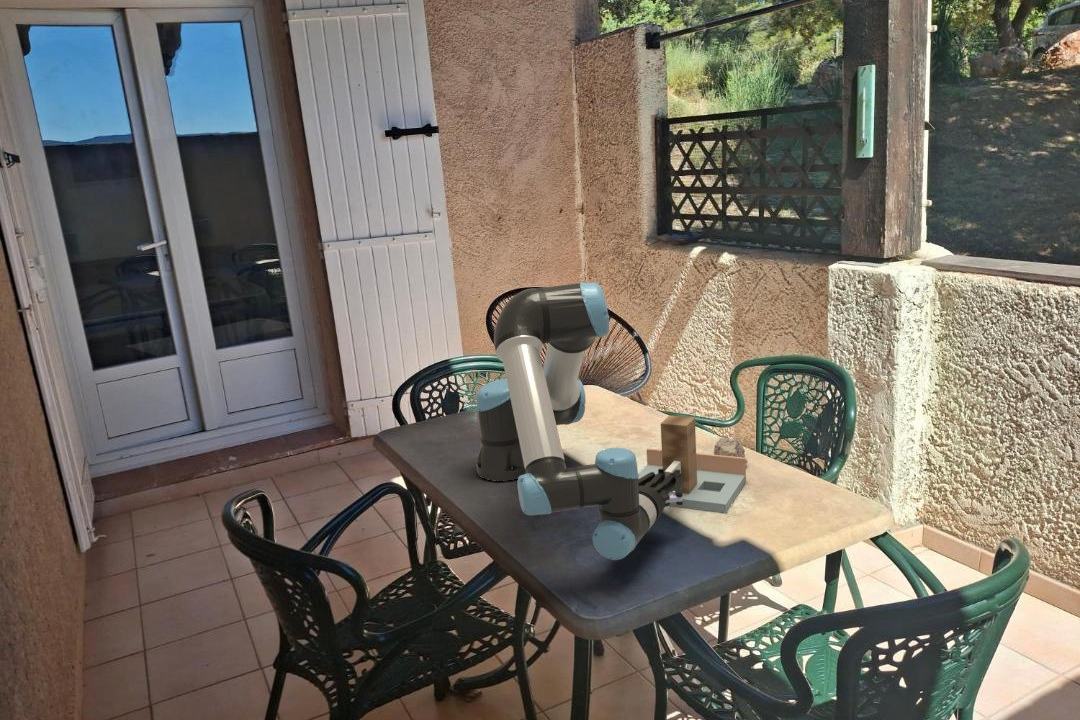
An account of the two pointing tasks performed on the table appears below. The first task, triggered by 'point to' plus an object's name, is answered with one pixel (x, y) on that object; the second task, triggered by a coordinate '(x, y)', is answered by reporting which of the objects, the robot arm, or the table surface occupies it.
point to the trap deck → (707, 480)
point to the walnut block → (680, 448)
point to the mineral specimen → (729, 448)
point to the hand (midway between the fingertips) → (677, 466)
